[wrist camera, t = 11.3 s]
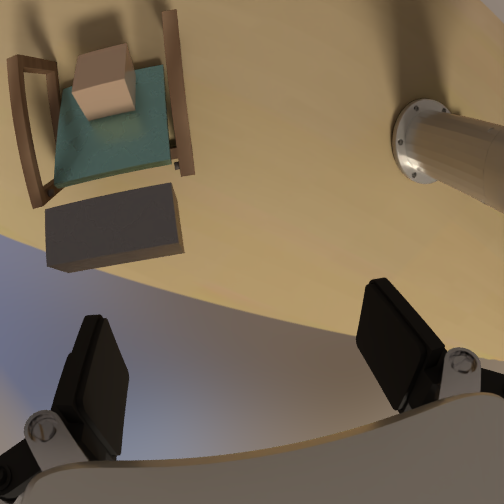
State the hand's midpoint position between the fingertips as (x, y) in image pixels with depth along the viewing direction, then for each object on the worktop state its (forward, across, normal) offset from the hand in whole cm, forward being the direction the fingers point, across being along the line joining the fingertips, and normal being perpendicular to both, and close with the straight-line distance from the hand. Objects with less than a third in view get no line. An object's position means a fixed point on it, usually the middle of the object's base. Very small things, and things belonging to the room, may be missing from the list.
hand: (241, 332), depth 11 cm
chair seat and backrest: (+23, +9, -2) cm, 25 cm away
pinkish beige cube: (+26, +9, -9) cm, 29 cm away
